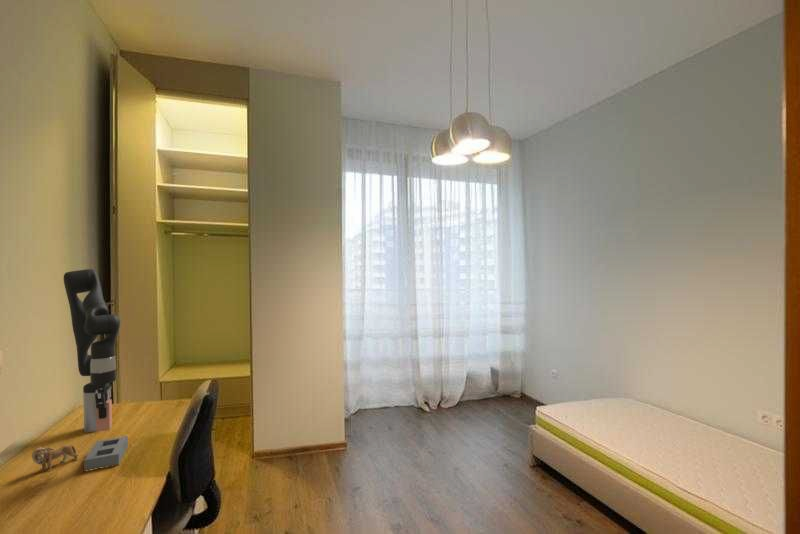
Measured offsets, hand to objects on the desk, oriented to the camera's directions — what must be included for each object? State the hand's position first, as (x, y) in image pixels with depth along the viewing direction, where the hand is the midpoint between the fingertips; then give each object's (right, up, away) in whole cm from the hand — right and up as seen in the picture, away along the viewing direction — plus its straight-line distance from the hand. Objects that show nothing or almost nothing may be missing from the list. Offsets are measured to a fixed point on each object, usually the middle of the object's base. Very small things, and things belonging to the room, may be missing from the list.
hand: (104, 416), depth 146 cm
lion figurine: (-16, -18, -2) cm, 24 cm away
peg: (0, -5, 0) cm, 5 cm away
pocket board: (-2, -17, +4) cm, 18 cm away
